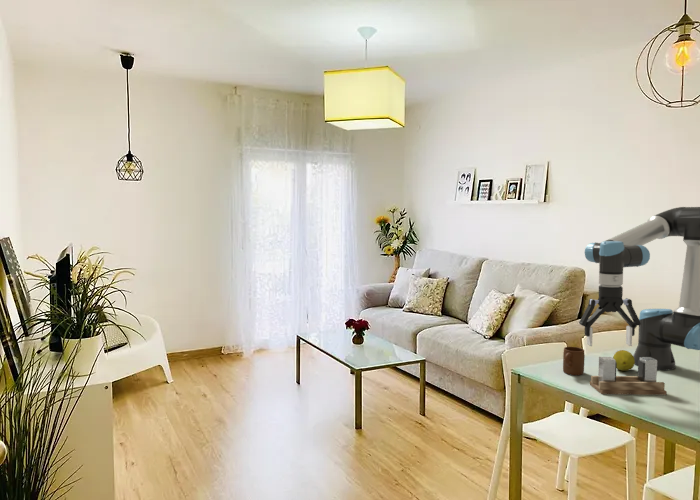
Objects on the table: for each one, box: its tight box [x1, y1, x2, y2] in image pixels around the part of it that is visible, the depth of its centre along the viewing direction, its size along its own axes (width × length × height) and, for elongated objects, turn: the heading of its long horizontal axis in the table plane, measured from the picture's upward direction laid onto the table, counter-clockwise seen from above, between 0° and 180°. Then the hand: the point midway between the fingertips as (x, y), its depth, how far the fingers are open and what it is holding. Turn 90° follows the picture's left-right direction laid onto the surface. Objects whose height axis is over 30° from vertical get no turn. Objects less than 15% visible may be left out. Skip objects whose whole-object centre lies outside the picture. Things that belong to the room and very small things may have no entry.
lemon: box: [612, 349, 635, 372], centre depth 208 cm, size 11×8×8 cm
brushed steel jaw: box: [597, 356, 617, 384], centre depth 186 cm, size 5×4×10 cm
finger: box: [637, 357, 658, 382], centre depth 186 cm, size 5×4×10 cm
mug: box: [562, 346, 586, 376], centre depth 203 cm, size 12×8×9 cm, turn 138°
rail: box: [589, 375, 668, 396], centre depth 186 cm, size 22×10×4 cm, turn 88°
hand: (609, 345), depth 185 cm, fingers open, 13 cm apart
